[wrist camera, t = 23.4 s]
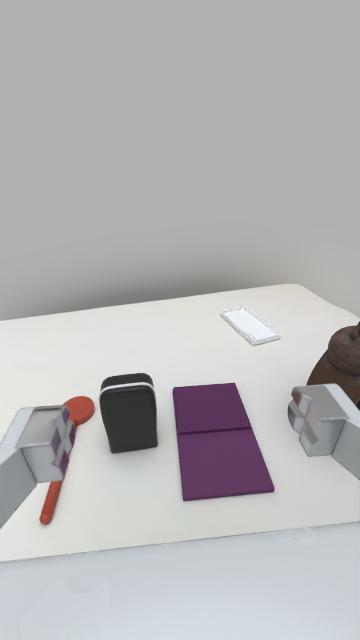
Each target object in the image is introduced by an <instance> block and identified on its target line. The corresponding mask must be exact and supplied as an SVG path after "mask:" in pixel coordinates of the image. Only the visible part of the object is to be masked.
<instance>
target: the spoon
mask: <svg viewBox="0 0 360 640" xmlns="http://www.w3.org/2000/svg"><path fill="white" fill-rule="evenodd" d="M63 405H67V406H68V408H69V411H70V415H69V419H70V420H72V421H73V423H74V428H75V430H76V427H77V425H79V424H82V423H84V422H86V421H87V420H89V419H90V418H91V416H92V415H93V413H94V404H93V401H92V400H91V399H90V398H88V397H85V396H79V397H74V398H72V399H70V400H68V401H66V402H65V403H64V404H63ZM68 456H69V453H68V454H67V457H68ZM61 481H62V480H59V481H51V483H50V486H49V490H48V493H47V496H46V499H45V503H44V506H43V509H42V512H41V516H40V522H41V523H42V524H47V523H48V522H49V521H50V520H51V517H52V514H53V510H54V507H55V503H56V499H57V496H58V492H59V488H60V485H61Z"/></svg>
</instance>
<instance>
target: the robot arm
mask: <svg viewBox="0 0 360 640" xmlns="http://www.w3.org/2000/svg"><path fill="white" fill-rule="evenodd" d="M291 395H292V397H293V400H292V401H291V402H290V403H289V406H288V418H289V421H290V424H291V426H292V428H293V429H294V430H295V431H296V432H298V433H299V434H300V437H299V441H300V443H301V445H302V447H303V449H304V451H305V453H306V454H307V456H308V457H312V456H327V455H332V456H331V457H333V458H334V459H335V460H336V461H337V462H339V463H340V464H341V465H342V466H343V467H344V468H346V469H347V470H348V471H349V472H350V473H352V474H353V475H354V476H355V477H356V478H358V479H359V480H360V411H359V409H358V408H357V407H356V406H355V405H354V403H353V402H352V401H351V400H350V399H349V397H348V396H347V395H346V394H345V393H344V391H343V390H342V389H341V388H340V387H339V386H338V385H337V384H335V383H334V384H322V385H311V386H299V387H294V388H293V390H292V393H291ZM69 415H70V411H69V408H68V406H67V405H58V406H39V407H26V408H21V409H20V410H18V411H17V413H16V415H15V417H14V419H13V421H12V423H11V424H10V426H9V428H8V430H7V432H6V434H5V436H4V437H3V439H2V441H1V443H0V529H1V528H2V526H3V525H4V524H5V523H6V522H7V520H8V519H9V518H10V517H11V516H12V514H13V513H14V512H15V511H16V510H17V508H18V507H19V506H20V505H21V504H22V502H23V501H24V500H25V499H26V498H27V496H28V495H29V494H30V493H31V492H32V490H33V489H34V488H35V487H36V486H37V483H43V482H51V481H59V480H64V477H65V473H66V470H67V466H68V463H69V459H68V457H67V454H68V453H69V452H70V451H71V450H72V448H73V444H74V438H75V428H74V423H73V421H72V420H70V419H69ZM0 640H360V521H359V522H350V523H341V524H332V525H323V526H314V527H305V528H296V529H287V530H278V531H269V532H260V533H251V534H242V535H233V536H224V537H216V538H207V539H198V540H189V541H180V542H171V543H162V544H153V545H144V546H135V547H126V548H117V549H108V550H100V551H91V552H82V553H73V554H64V555H55V556H46V557H37V558H28V559H19V560H10V561H2V562H0Z"/></svg>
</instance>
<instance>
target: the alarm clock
mask: <svg viewBox="0 0 360 640" xmlns="http://www.w3.org/2000/svg"><path fill="white" fill-rule="evenodd" d="M334 383H335V384H337V385H338V386H339V387H340V388H341V389H342V390H343V391H344V393H345V394H346V395H347V396H348V397H349V399H350V400H351V401H352V402H353V403H354V405H355V406H356V407H357V408H358V409H359V411H360V322H359V323H358V325H357V326H348V327H345V328H342V329H340V330H338V331H337V332H336V333H335V334H334V335H333V336H332V337H331V339H330V341H329V344H328V350H327V351H326V352H325V353H324V354H323V356H322V357H321V358H320V360H319V361H318V363H317V364H316V366H315V367H314V369H313V371H312V373H311V375H310V377H309V379H308V382H307V385H306V386H311V385H322V384H334Z"/></svg>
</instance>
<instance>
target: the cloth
mask: <svg viewBox="0 0 360 640" xmlns="http://www.w3.org/2000/svg"><path fill="white" fill-rule="evenodd" d="M173 397H174V407H175V418H176V428H177V438H178V449H179V459H180V469H181V480H182V490H183V500H184V501H188V500H197V499H207V498H217V497H226V496H236V495H245V494H255V493H265V492H274V489H275V488H274V486H273V483H272V480H271V478H270V475H269V472H268V470H267V467H266V464H265V462H264V459H263V456H262V454H261V451H260V448H259V446H258V443H257V440H256V438H255V435H254V433H253V430H252V427H251V424H250V422H249V419H248V416H247V414H246V411H245V408H244V406H243V403H242V401H241V398H240V395H239V393H238V390H237V387H236V385H235V383H226V384H212V385H199V386H185V387H174V389H173Z"/></svg>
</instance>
